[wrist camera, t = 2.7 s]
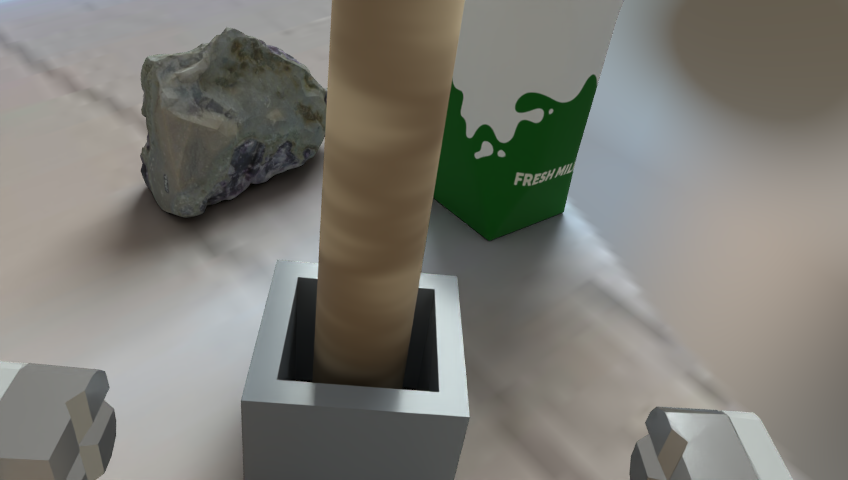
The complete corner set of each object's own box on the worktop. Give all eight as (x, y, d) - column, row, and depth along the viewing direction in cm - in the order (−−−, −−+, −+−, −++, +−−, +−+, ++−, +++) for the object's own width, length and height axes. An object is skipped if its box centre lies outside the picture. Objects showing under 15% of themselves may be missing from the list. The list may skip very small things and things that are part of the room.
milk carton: (493, 156, 52) (557, -146, 40) (584, 217, 46) (688, -111, 35) (399, 184, 47) (441, -152, 35) (489, 255, 41) (573, -113, 30)
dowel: (304, 466, 28) (329, -56, 16) (314, 397, 31) (341, -87, 19) (393, 471, 28) (479, -37, 17) (394, 403, 31) (468, -69, 20)
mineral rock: (336, 138, 51) (344, 1, 45) (365, 221, 43) (380, 66, 37) (148, 141, 47) (131, -9, 41) (140, 232, 39) (117, 61, 33)
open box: (244, 507, 26) (240, 400, 23) (276, 361, 32) (277, 259, 29) (443, 519, 27) (469, 416, 23) (437, 374, 33) (457, 276, 30)
